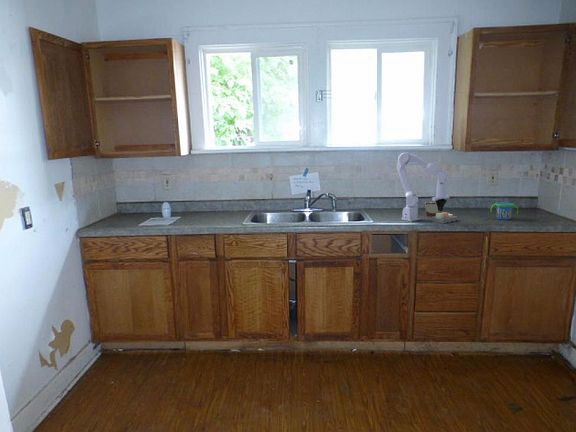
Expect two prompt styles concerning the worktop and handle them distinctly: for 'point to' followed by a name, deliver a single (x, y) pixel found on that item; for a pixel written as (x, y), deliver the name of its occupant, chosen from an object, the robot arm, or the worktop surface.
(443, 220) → the key console
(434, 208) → the half round cake
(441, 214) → the key sage
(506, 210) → the snack cup
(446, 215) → the key terracotta
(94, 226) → the worktop surface
